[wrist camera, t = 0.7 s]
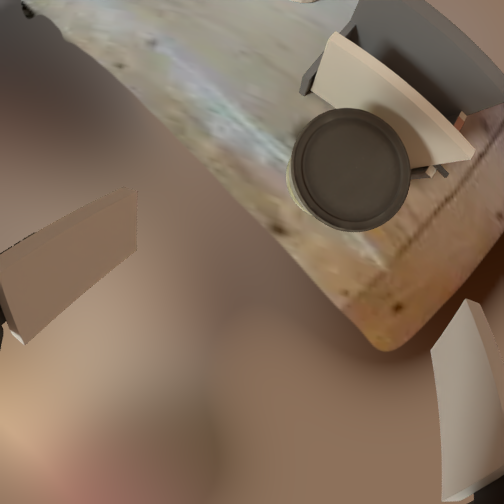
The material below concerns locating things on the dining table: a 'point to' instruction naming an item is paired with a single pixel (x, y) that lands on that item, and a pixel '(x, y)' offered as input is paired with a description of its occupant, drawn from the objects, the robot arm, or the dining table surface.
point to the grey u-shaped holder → (424, 58)
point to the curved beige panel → (388, 103)
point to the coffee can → (349, 170)
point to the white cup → (303, 1)
